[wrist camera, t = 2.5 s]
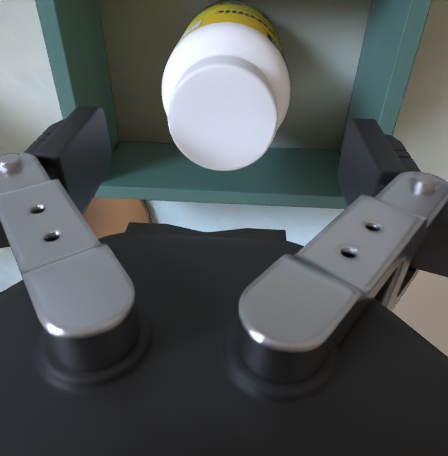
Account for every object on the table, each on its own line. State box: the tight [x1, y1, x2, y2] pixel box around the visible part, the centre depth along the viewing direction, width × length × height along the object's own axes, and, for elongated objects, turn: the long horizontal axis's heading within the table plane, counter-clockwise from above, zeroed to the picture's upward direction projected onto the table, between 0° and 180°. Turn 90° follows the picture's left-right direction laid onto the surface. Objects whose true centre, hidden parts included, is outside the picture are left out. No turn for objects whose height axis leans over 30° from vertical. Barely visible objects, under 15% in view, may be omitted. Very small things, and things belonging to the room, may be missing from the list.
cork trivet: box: [83, 197, 151, 239], centre depth 29 cm, size 11×11×1 cm
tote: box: [35, 0, 432, 209], centre depth 20 cm, size 16×13×6 cm
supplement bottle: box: [162, 1, 291, 171], centre depth 18 cm, size 5×5×10 cm
